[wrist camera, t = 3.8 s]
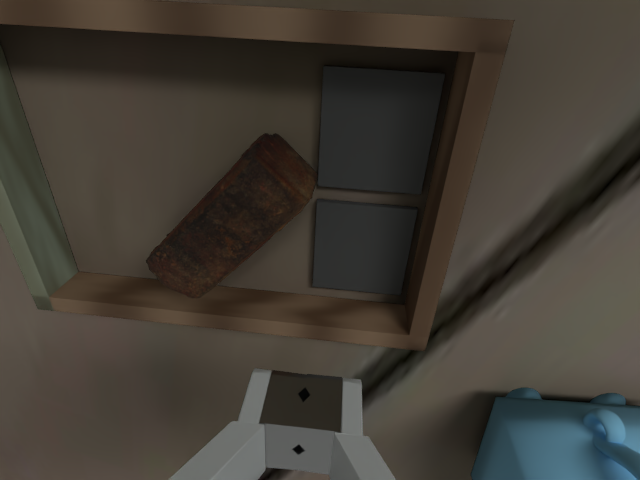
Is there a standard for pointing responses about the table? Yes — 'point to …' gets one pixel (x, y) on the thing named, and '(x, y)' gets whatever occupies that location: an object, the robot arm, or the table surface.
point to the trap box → (238, 303)
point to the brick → (234, 217)
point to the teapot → (559, 439)
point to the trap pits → (371, 172)
